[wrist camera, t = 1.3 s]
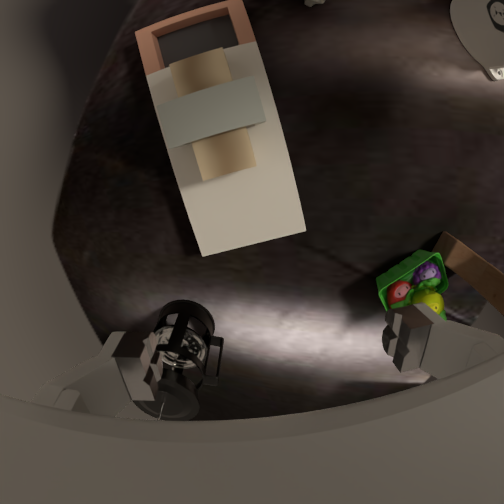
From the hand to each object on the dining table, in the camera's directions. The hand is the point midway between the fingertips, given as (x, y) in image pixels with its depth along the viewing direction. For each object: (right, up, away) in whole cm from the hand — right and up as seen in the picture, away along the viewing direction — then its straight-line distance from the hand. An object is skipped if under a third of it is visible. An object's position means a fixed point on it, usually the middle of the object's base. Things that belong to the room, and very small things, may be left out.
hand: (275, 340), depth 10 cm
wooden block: (+33, +3, +33) cm, 47 cm away
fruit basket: (+24, -1, +35) cm, 42 cm away
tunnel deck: (-5, +19, +26) cm, 33 cm away
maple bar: (-5, +19, +23) cm, 30 cm away
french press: (-11, -9, +38) cm, 40 cm away
